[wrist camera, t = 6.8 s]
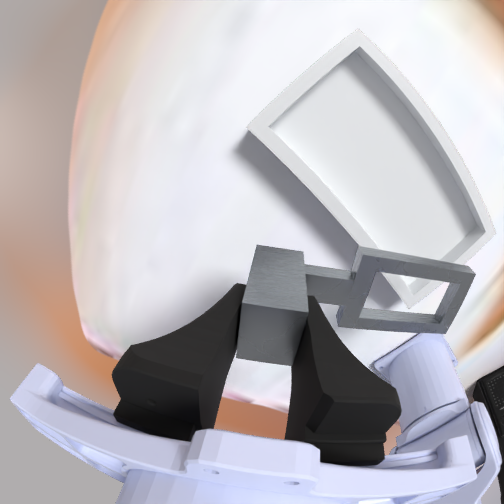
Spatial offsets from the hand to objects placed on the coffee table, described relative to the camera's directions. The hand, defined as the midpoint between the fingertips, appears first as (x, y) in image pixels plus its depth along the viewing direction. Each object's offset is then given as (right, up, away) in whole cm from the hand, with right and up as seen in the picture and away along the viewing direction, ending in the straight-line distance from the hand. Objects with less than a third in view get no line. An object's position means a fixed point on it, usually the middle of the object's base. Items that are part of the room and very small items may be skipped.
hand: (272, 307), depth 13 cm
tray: (+9, +8, +5) cm, 13 cm away
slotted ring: (+6, +1, +2) cm, 6 cm away
